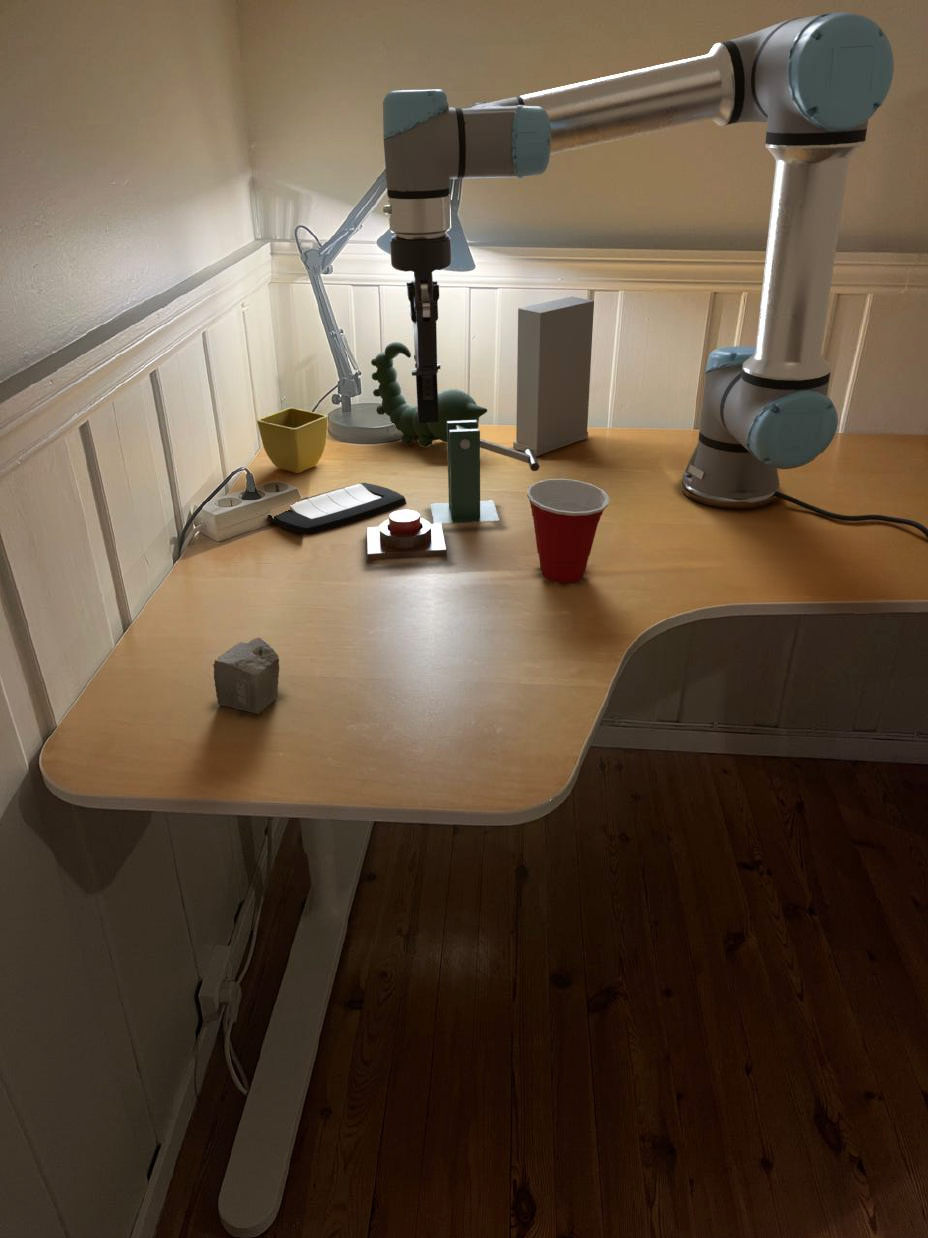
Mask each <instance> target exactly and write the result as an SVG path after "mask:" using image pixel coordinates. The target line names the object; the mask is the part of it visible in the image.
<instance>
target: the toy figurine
mask: <svg viewBox="0 0 928 1238" xmlns="http://www.w3.org/2000/svg"><path fill="white" fill-rule="evenodd" d="M400 354H403V355H404V356H406V357H407V358H408V359H409V358H411V357H412V353H411V351H410V349H409V347H408V346H407V345H406V344H404V343H402V342H400V341H393V342H390V343H388V344H387V345H386V346H385V349H384V351H383V352H379V353H378V354H377V355H376V356H375V358H372V359H371V362H370V363H371V364H370V365H372V366H373V367H375V368H376V371H375V372H373V373H372V374H371V379H372V380H373V381H375V382H376V381H377V383H379V385H378V388H375V389H374V390H373V391H372V394H373V396H374V397H375V398H376V397H380V398H381V405H378V406H376V413H377V414H378V415H381V416H382V415H386V416H388V417H389V421H390V423H391V422H392V423H394V424H395V425H396V428H397V429H398V431H400V433H401V434H402V437H401V441H402V443H403V444H404V445H411V444H413V442H414V441H417V443H418V445H419V446H420V447H423V448H428V447H430V446H431V445H432V444H433V441H438V440H440V441H442V442H444V443H447V421H464V420H476V421H477V429H479V425H480V424H479V423H480V417H482V416H483V415H485V414H486V413H487V412H488V409H487V408H486V407H484V406H480V405H477V402H476V400H475V399H474V398H473V397H472V396H471V395H470V394H469V393H467V392H465V390H461V389H458V388H449V389H445V390H441V391H440V392H438V415H439V422H428V423H419V422H418V408H417V405H411V404H409V403H408V402H407V400H406V398H405V395H403V394H402V386H401V383H400V382H399V381H398V380H397V379H398V372H397V369H396V368H395V367H394V358H396V357H398V356H399V355H400ZM392 423H391V424H392Z"/></svg>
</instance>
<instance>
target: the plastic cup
mask: <svg viewBox="0 0 928 1238" xmlns="http://www.w3.org/2000/svg"><path fill="white" fill-rule="evenodd" d="M526 496H527V498H528V500H529V503H530V508H531V516H532V519H533V528H534V534H535V541H536V550H537V554H538V559H539V567H540V571H541V574H542V575H541V576H542V577H543V578H544V579H546V580H548V581H549V582H553V583H557V584H572V583H575V582H578V581H580V580H582V578H584V575H585V573H586V569H587V565H588V561H589V557H590V555H591V551H592V548H593V544H594V540H595V537H596V533H597V529H598V525H599V523H600V520H601V516H603V513H604V511H605V509H606V508H607V507H608V506H609V504H610V496H609V495H608V493H607V492H606V491H605V490H603V489H602V488H600V487H598V486H596V485H594V484H593V483H589V482H585V481H581V480H578V479H569V478H547V479H543V480H539V481H536V482H534V483H532V484H531V485H529V486H528V489H527V492H526Z"/></svg>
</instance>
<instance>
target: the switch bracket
mask: <svg viewBox="0 0 928 1238" xmlns="http://www.w3.org/2000/svg"><path fill="white" fill-rule="evenodd" d="M456 425H458V426H461V427H464V428H467V429H460V430H455V428H456ZM480 439H481V430H480V428H478V429H477V421H476V420H464V421H447V442H446V445H447V449H446V451H447V490H448V493H447V494H448V502H432V503H431V502H430V504H429V505H430V510H431V517H432V522H433V524H440V523H441V524H442V525H445V524H447V525H448V524H465V523H483V522H484V523H485V522H486V523H487V522H500V520H501V519H500V517H499V513H498V510H497V507H496V505H495V501H494V500H493V499H489V500H481V448H480Z"/></svg>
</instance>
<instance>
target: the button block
mask: <svg viewBox="0 0 928 1238" xmlns="http://www.w3.org/2000/svg"><path fill="white" fill-rule="evenodd" d="M420 524H421V529H420V530H419V531H418V532H415V533H411V534H397V533H392V532H391V531H390V528H389V518H388V519H385V520H384V521H382V522H381V523H380V524H379V525H378V526H369V527H368V526H367V527H366V558H367V561H368V562H369V561H385V560H386V561H387V560H405V559H425V558H441V557H444V558H445V557H447V556H448V550H447V545H446V539H445V534H444V528H443V524H441V523H440V524H434V523H431V522H430V521H428V520H427V519H426V518H424V517H420Z"/></svg>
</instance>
